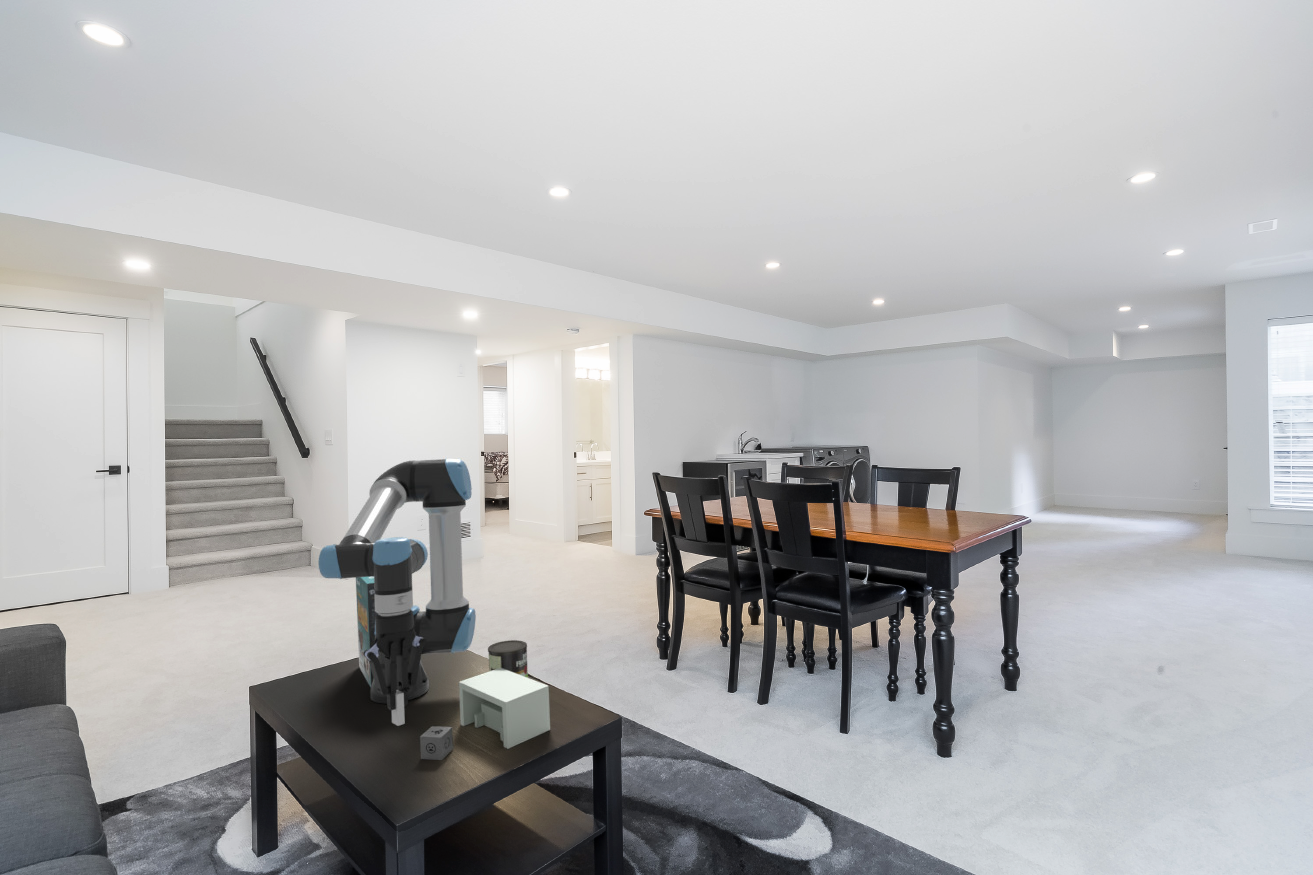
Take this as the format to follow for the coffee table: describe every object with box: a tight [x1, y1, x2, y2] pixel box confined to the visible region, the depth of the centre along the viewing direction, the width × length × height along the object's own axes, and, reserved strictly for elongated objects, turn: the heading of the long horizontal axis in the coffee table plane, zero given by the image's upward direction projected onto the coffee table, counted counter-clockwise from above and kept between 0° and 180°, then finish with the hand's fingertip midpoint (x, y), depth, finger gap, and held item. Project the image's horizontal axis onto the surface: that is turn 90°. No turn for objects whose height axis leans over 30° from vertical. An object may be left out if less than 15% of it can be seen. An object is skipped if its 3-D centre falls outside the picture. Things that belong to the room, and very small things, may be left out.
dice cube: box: [419, 725, 454, 761], centre depth 144 cm, size 5×5×5 cm
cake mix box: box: [355, 577, 378, 688], centre depth 196 cm, size 22×6×30 cm, turn 33°
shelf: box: [458, 668, 551, 750], centre depth 157 cm, size 20×12×10 cm, turn 47°
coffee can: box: [487, 639, 529, 678], centre depth 174 cm, size 10×10×14 cm
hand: (398, 722), depth 137 cm, fingers closed
